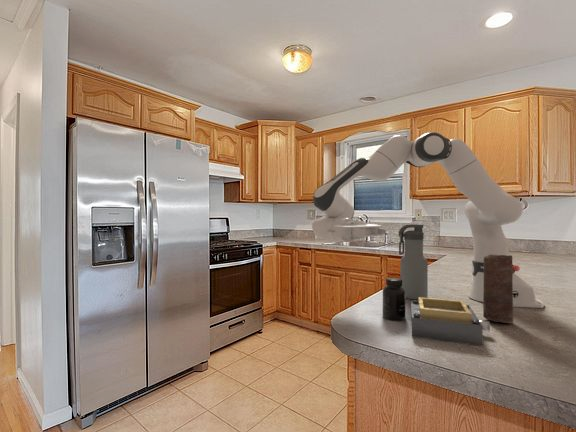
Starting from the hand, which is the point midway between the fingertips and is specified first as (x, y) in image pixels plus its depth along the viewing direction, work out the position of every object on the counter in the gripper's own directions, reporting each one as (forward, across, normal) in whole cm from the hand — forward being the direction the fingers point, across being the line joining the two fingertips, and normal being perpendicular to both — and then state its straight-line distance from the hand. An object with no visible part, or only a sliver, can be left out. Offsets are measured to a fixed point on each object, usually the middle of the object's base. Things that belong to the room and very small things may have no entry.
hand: (376, 232), depth 102 cm
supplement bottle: (+7, 0, +26) cm, 27 cm away
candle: (+28, +22, +26) cm, 44 cm away
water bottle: (-3, +27, +26) cm, 37 cm away
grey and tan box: (+23, +3, +26) cm, 35 cm away
